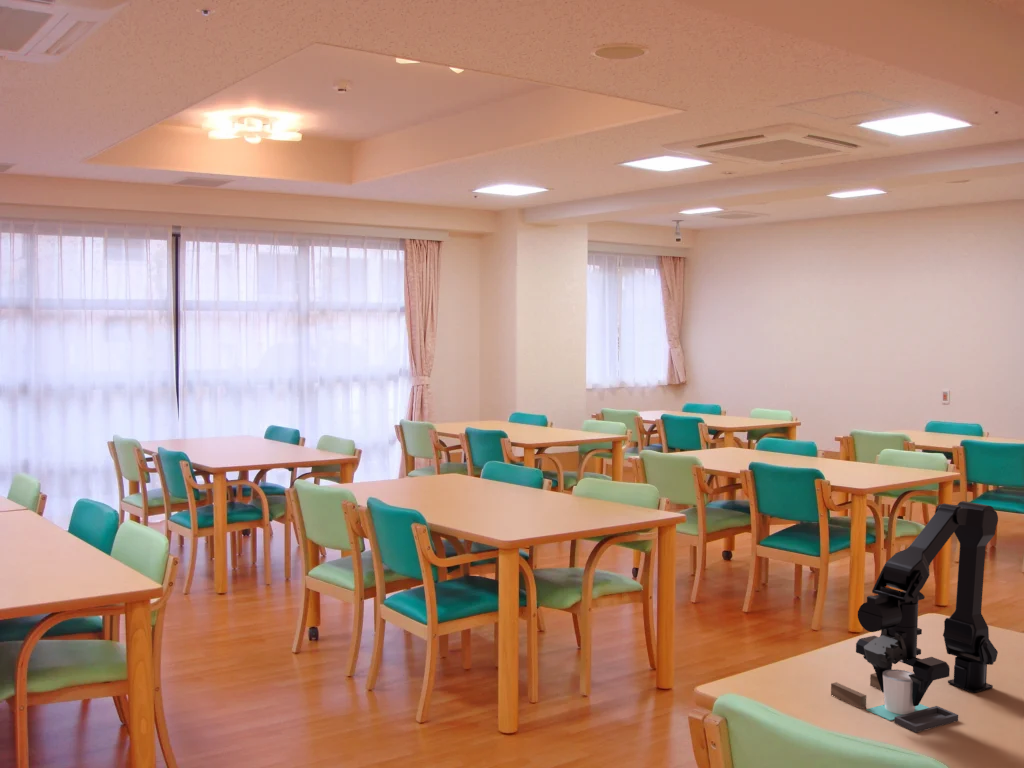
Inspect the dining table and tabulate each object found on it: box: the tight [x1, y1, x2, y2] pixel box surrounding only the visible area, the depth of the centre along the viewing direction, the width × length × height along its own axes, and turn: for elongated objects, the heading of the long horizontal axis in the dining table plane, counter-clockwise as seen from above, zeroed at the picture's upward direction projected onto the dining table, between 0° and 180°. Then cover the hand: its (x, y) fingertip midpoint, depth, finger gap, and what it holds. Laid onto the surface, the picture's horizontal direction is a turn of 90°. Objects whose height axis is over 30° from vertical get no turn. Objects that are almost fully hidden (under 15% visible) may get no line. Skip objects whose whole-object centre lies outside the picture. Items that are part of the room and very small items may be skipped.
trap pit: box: [894, 705, 959, 733], centre depth 191 cm, size 12×5×1 cm, turn 118°
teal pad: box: [866, 702, 930, 722], centre depth 197 cm, size 12×6×1 cm, turn 118°
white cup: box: [883, 669, 915, 714], centre depth 197 cm, size 7×7×7 cm
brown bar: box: [830, 672, 881, 710], centre depth 204 cm, size 13×8×2 cm, turn 118°
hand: (899, 698), depth 197 cm, fingers open, 7 cm apart
